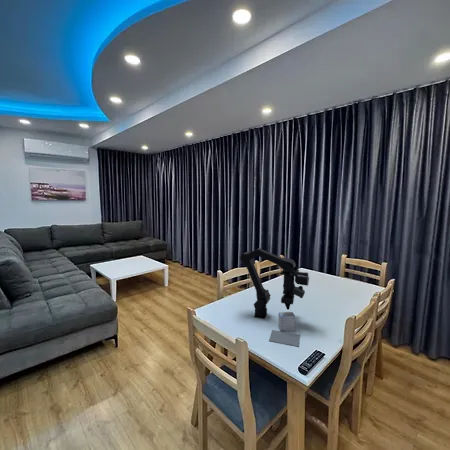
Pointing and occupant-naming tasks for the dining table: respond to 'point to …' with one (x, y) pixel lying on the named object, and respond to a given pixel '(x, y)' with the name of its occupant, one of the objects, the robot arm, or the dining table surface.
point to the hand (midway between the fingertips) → (288, 309)
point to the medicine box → (286, 321)
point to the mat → (284, 338)
